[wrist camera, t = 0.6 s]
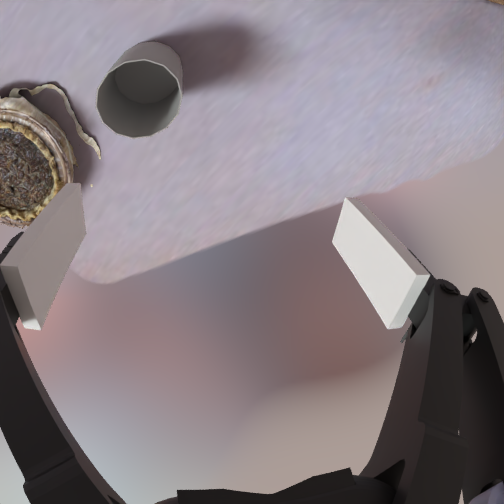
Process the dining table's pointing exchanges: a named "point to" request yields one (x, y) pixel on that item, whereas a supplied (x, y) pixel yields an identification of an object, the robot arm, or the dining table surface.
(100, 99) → the cup
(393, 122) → the dining table surface
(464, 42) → the dining table surface
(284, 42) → the dining table surface
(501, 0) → the open wooden box
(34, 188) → the pie
